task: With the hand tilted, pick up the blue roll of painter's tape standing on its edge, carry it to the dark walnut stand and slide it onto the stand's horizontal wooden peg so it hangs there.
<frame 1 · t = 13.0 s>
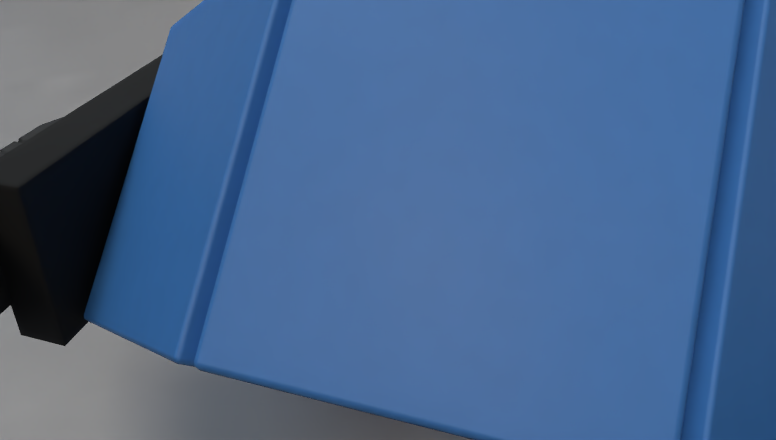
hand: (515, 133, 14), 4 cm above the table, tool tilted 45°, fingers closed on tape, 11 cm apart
tape: (492, 296, 17), on the table, touching gripper
when the fingers open (8 cm above the table, at t = 22.2 s): tape stays where it is, resting on stand.
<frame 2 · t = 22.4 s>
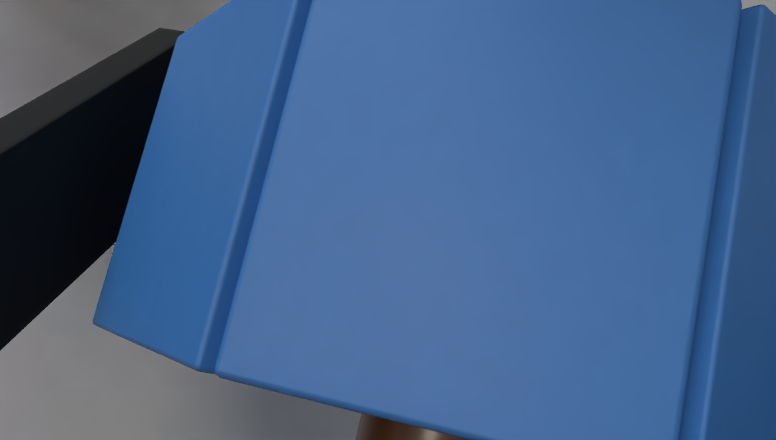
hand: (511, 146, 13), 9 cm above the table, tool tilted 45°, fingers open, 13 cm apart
tape: (484, 298, 18), point 4 cm above the table, touching stand
stand: (528, 161, 22), on the table
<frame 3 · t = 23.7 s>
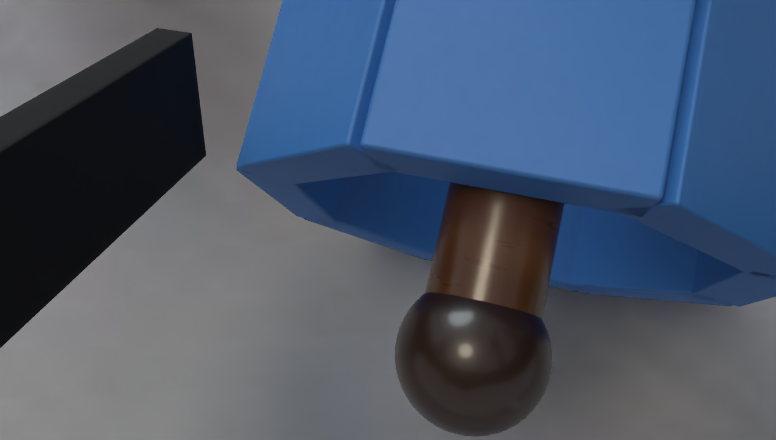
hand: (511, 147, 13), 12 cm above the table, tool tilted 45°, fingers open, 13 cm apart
tape: (519, 200, 21), point 4 cm above the table, touching stand
stand: (544, 97, 26), on the table
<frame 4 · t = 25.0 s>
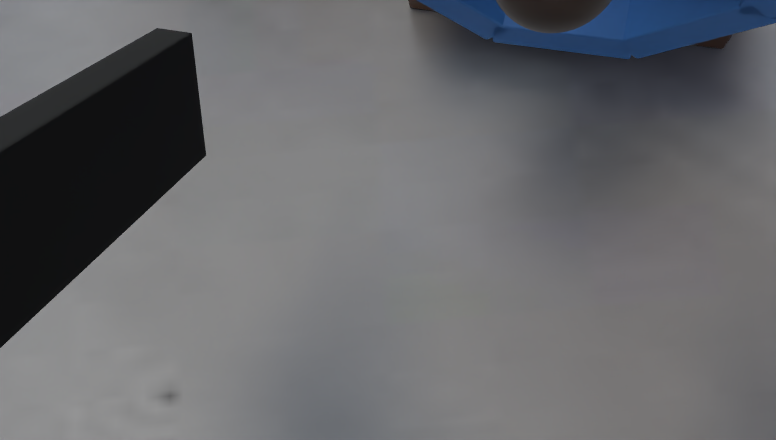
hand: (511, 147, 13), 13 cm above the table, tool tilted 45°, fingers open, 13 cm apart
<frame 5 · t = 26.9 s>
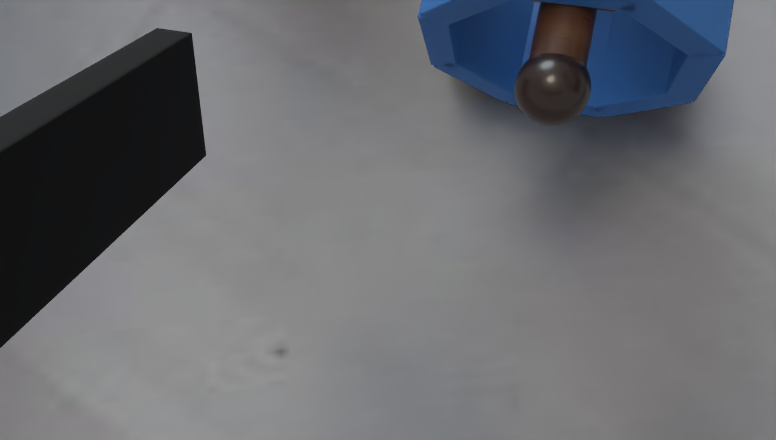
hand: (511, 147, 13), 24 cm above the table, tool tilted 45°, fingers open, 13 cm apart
tape: (562, 64, 34), point 4 cm above the table, touching stand
stand: (572, 10, 38), on the table
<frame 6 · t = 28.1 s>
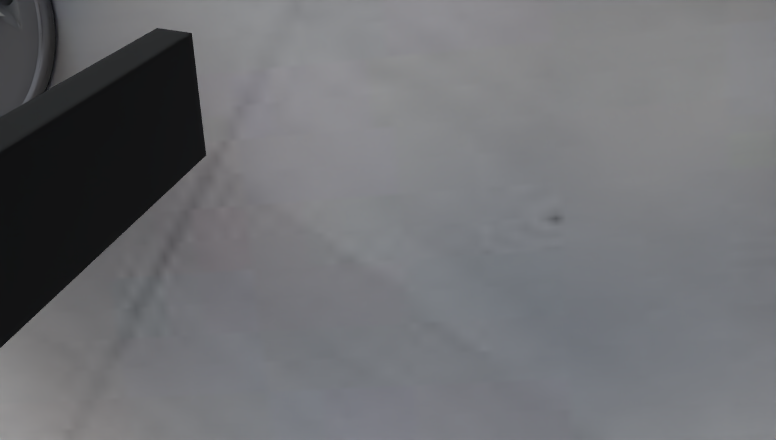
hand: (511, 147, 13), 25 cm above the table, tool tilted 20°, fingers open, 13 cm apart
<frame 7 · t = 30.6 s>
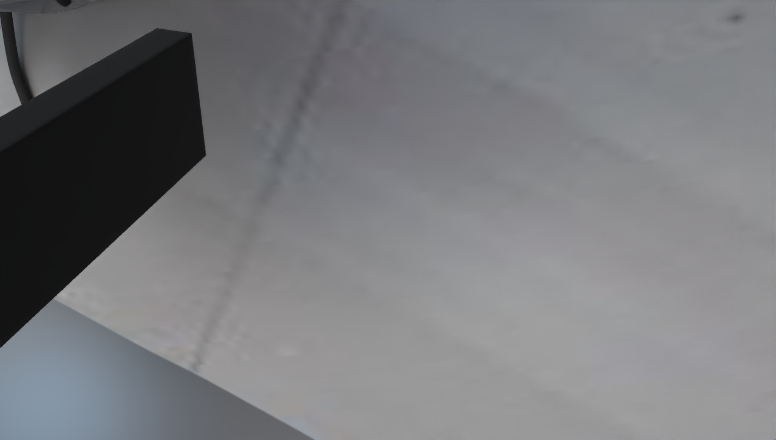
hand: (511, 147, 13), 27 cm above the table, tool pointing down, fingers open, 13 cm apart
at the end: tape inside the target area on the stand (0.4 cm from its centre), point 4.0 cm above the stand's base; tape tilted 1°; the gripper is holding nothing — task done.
